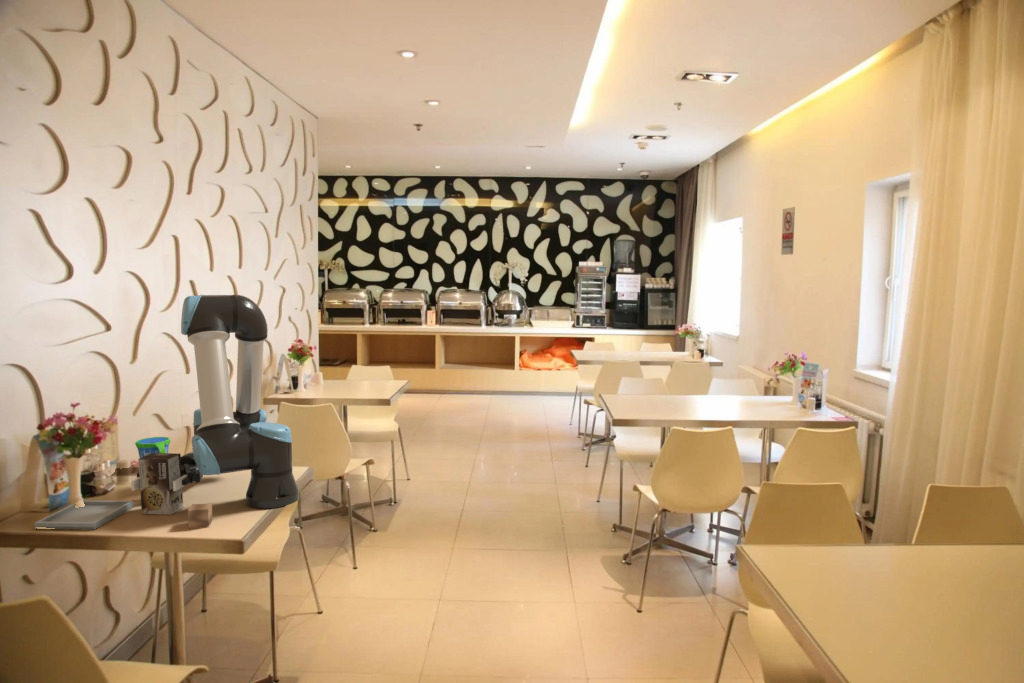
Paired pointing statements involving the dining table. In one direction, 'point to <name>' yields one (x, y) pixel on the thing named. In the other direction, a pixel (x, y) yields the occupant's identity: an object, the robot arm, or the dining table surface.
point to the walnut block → (200, 515)
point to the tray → (85, 515)
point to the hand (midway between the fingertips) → (153, 486)
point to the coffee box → (160, 483)
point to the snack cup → (152, 445)
